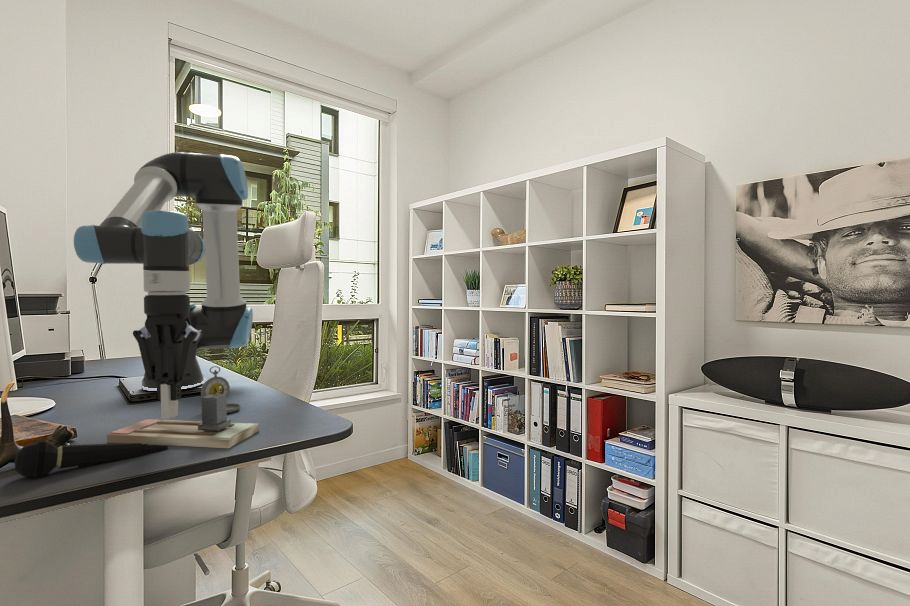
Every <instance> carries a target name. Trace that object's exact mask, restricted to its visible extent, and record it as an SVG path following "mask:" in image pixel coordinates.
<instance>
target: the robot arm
mask: <svg viewBox="0 0 910 606" xmlns="http://www.w3.org/2000/svg"><path fill="white" fill-rule="evenodd" d="M133 182H134V183H133V184H132V185H131V187H130V188H129V189H128V190H127V191H126V193H125V194H124V195H123V196H122V198H121V199H120V200H119V201H118V203H116V205H115V207H114V208H113V209H112V210H111V211H110V212H109V214H108V215H107V216H106V217H105V219H104V220H103V221H102V222H101V223H100V224H99V225H95V224H90V225H81V226H79V227H77V228H76V230H75V232H74V235H73V249H74V251H75V254H76V257H78V259H80V261H82V262H84V263H88V264H89V263H90V264H91V263H92V264H102V265H106V264H111V265H113V264H116V265H118V264H121V265H122V264H123V265H124V264H126V265H127V264H129V265H130V264H134V265H135V264H137V265H138V264H142V265H143V266H142V269H143V271H142V272H143V273H142V274H143V292H145V293H147V294H145V295H144V297H143V312H144V314H145V315H146V319H145V321H144V326H142V328H140V329H135V330H132V336H133V337H134V338H135V341H136V342H137V345H138V348H139V353H140V356H141V360H142V365H143V369H144V375H143V378H142V380H141V387H142V386H144V387H148V388H157V392H156V393H157V399H158V400H159V401H160V405H161V406H160V412H161V413H160V416H161V417H160V418H161V419H160V420H170V419H172V418H174V417H177V416H179V400H180V399H181V398H182V390H181V387H182V386H188V385H194V384H197V383H201V382H202V381H203V380H204V375H203V373H202V369H201V365H200V364H199V361H198V359H197V350H198V349H199V350H201V349H203V350H204V349H206V350H207V349H229V350H230V349H234V348H235V349H236V348H243V347H245V346H247V344H248V343H249V341H250V338H251V332H252V326H253V318H254V317H253V315H254V314H253V308H252V307H249V306H247V300H245V298H243V297H242V296H241V282H240V261H239V260H240V259H239V258H240V257H239V236H238V234H239V233H238V215H237V214H238V213H237V212H238V211H239V210H240V209H241V208H242V207H243V201H244V200H248V198H249V197H248V196H249V186H248V179H247V175H246V171H245V168H244V165H243V163H242V161H241V160H240V158H239V157H237V156H235V155H230V154H229V155H228V154H223V153H221V154H220V153H219V154H218V153H201V152H200V153H199V152H197V153H196V152H184V151H177V152H170V153H166V154H162V155H160V156H158V157H155V158H153V159H151V160H149V161H148V162H146V163H145V164H143V165H142V166H141V167H140V168H139V169H138V170H137V172H136V173H135V175H134V178H133ZM176 197H180V198H181V197H183V198H184V197H186V198H194V200H195V205H196V206H197V207H198V208H199V210H201V212H202V213H201V214H202V230H203V238H202V236H201V235H200V234H199V233H198V232H196V231H194V230H191V229H190V226H189V219H188V215H187V214H185V213H183V212H179V211H171V210H162V209H163V207H164V206H165V204H166V203H168V202H170V201H172V200H173V199H174V198H176ZM203 258H204V265H205V266H204V268H205V283H206V284H205V285H206V298H205V299H203V301H202V302H201V308H200V307H199V308H198V307H197V305H196V304H195V303H191V297H190V296H189V294H187V292H188V293H189V292H190V291H191V285H190V284H191V282H190V280H191V279H190V278H191V277H190V266H191V265H195V264H197V263H199V262H200V261H201V260H202V259H203Z"/></svg>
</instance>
